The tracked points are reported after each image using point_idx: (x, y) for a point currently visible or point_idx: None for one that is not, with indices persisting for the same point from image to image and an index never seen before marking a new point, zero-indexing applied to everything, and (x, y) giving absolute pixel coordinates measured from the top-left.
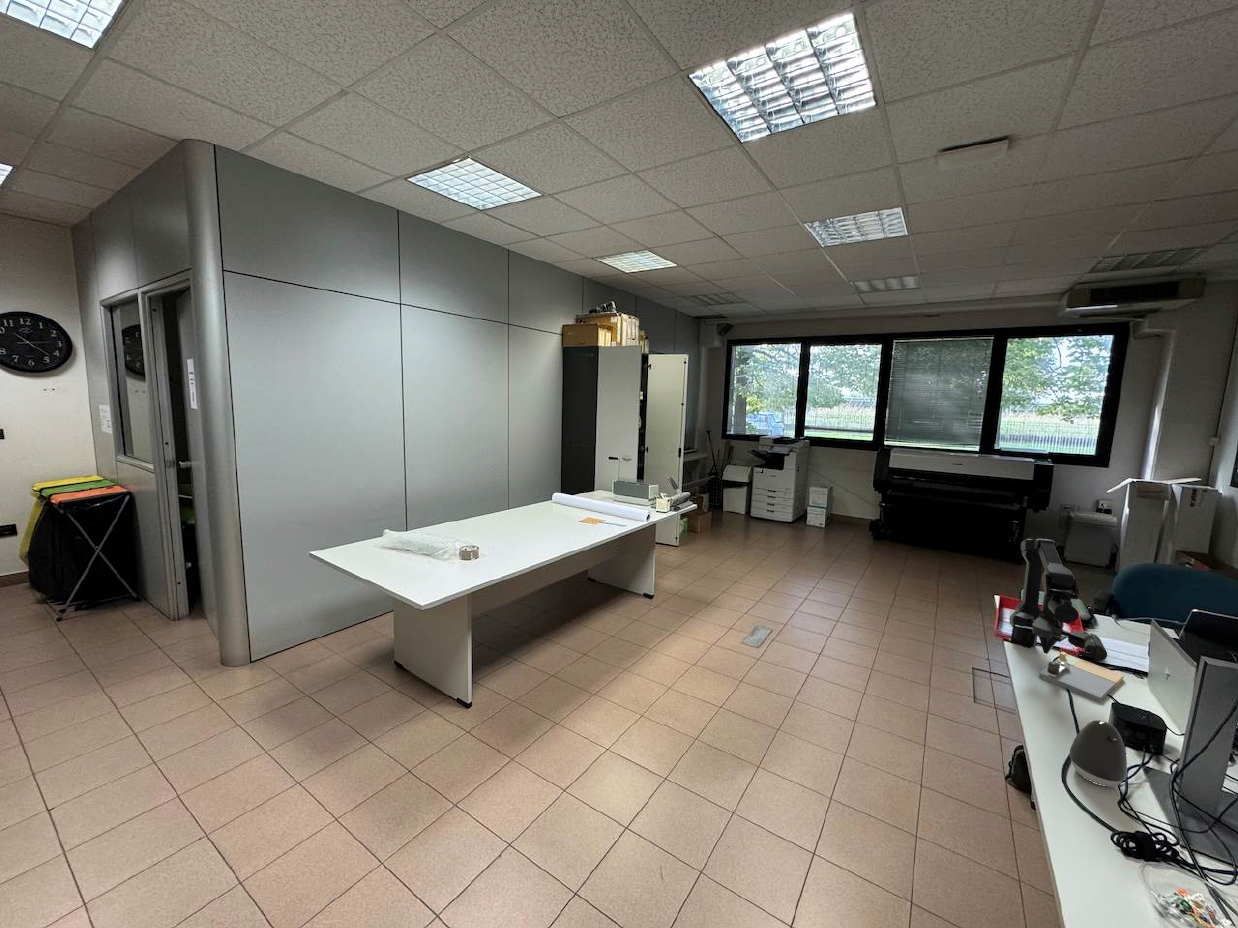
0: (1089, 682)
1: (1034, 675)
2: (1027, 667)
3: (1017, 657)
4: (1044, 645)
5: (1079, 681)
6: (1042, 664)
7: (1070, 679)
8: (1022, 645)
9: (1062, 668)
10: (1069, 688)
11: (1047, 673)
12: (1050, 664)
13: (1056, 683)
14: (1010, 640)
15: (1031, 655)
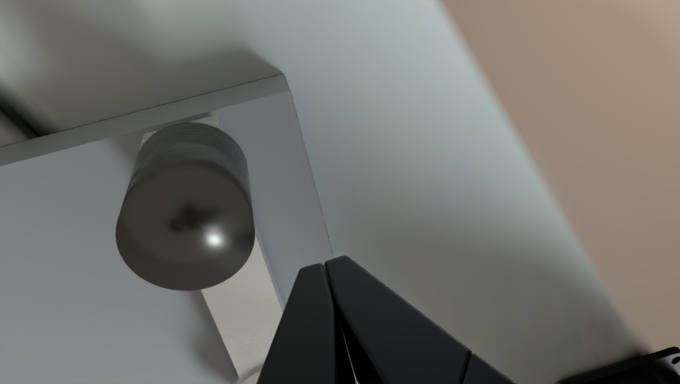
0: (31, 375)
1: (316, 56)
2: (429, 135)
3: (551, 206)
4: (383, 351)
5: (59, 313)
6: (402, 297)
7: (104, 268)
8: (598, 374)
9: (226, 331)
10: (17, 148)
11: (217, 118)
12: (194, 175)
13: (129, 115)
14: (673, 353)
15: (507, 329)
